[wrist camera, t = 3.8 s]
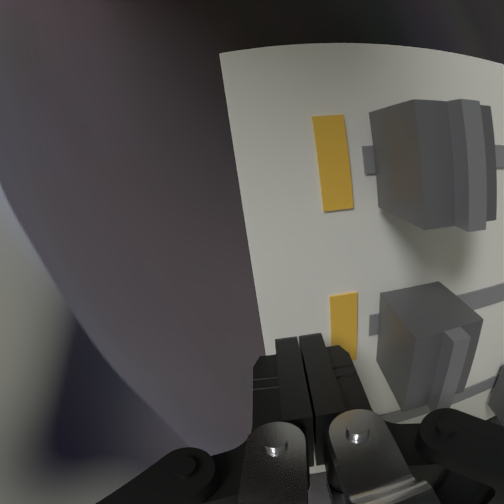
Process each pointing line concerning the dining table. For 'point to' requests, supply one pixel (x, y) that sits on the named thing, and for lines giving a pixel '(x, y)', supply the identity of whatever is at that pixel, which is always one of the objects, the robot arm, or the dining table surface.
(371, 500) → the robot arm
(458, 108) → the front switch
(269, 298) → the switch panel
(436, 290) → the middle switch
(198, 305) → the dining table surface
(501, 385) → the back switch
